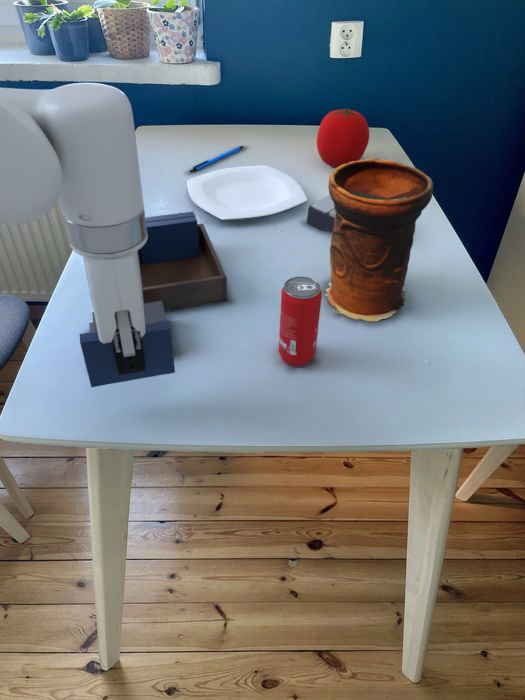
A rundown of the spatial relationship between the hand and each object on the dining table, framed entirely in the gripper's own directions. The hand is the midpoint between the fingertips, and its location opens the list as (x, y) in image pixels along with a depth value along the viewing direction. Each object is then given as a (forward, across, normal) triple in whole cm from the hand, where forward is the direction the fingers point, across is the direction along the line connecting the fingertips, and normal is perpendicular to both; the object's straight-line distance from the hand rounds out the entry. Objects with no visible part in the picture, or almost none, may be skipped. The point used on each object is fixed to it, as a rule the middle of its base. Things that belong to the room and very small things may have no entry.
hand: (131, 363), depth 64 cm
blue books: (+6, -33, +10) cm, 35 cm away
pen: (+7, -73, +28) cm, 78 cm away
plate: (+7, -52, +29) cm, 60 cm away
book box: (+7, -27, +10) cm, 30 cm away
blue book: (+2, 0, 0) cm, 2 cm away
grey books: (+7, -12, +1) cm, 14 cm away
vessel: (+7, -14, +38) cm, 41 cm away
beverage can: (+7, -3, +23) cm, 24 cm away
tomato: (+6, -63, +55) cm, 84 cm away
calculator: (+6, -35, +46) cm, 58 cm away
